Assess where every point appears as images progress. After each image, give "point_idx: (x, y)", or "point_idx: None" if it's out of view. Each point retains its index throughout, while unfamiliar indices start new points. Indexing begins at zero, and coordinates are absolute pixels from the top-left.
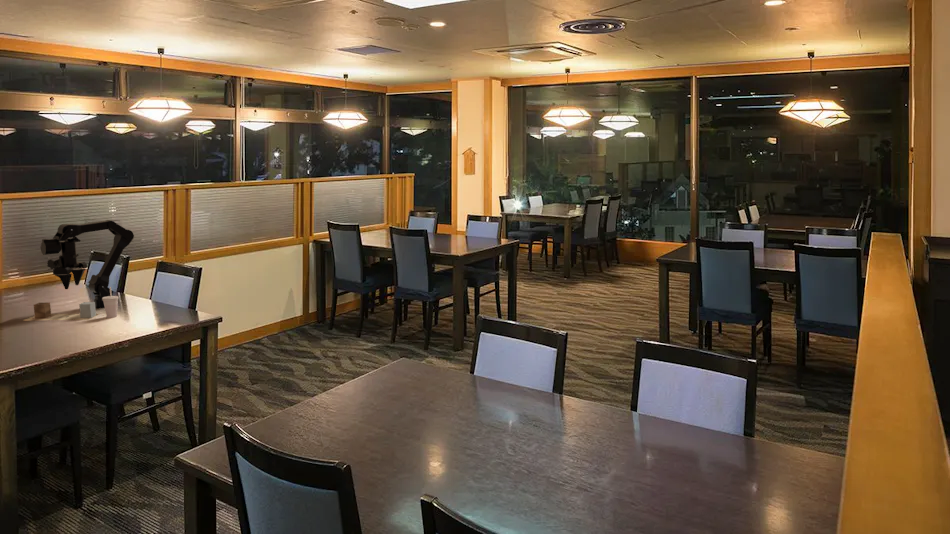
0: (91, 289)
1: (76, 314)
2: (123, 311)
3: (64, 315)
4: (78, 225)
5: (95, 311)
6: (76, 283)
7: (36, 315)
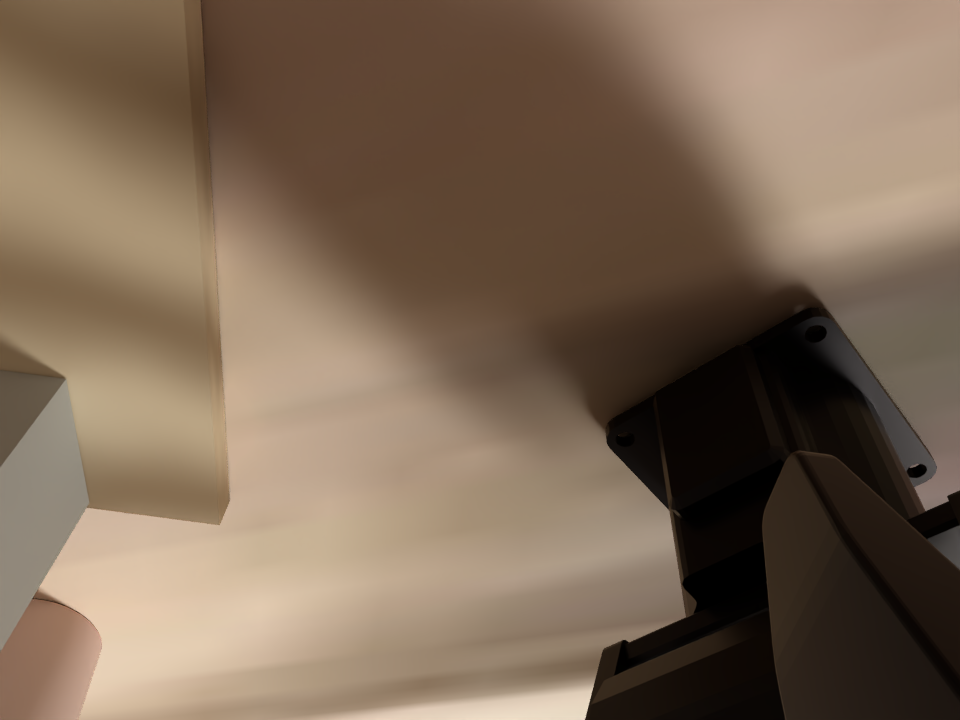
0: (762, 641)
1: (144, 217)
2: (485, 662)
3: (34, 14)
4: None
5: (54, 548)
6: (795, 538)
7: None
